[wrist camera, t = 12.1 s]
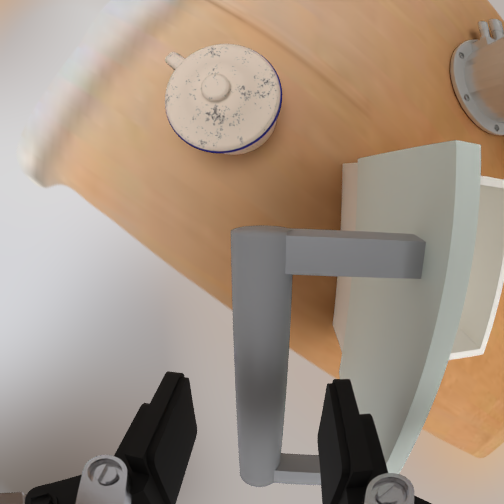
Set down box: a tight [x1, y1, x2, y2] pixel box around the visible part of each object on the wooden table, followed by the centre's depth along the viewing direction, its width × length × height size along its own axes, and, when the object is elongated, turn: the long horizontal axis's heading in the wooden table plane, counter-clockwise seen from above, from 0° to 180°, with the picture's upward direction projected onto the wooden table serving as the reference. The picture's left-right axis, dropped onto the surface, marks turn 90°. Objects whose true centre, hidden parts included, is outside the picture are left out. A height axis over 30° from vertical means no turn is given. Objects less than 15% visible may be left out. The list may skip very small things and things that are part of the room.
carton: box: [333, 163, 504, 360], centre depth 28 cm, size 18×16×9 cm
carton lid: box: [231, 140, 481, 487], centre depth 17 cm, size 18×16×7 cm
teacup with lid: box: [165, 44, 282, 155], centre depth 24 cm, size 12×9×12 cm
